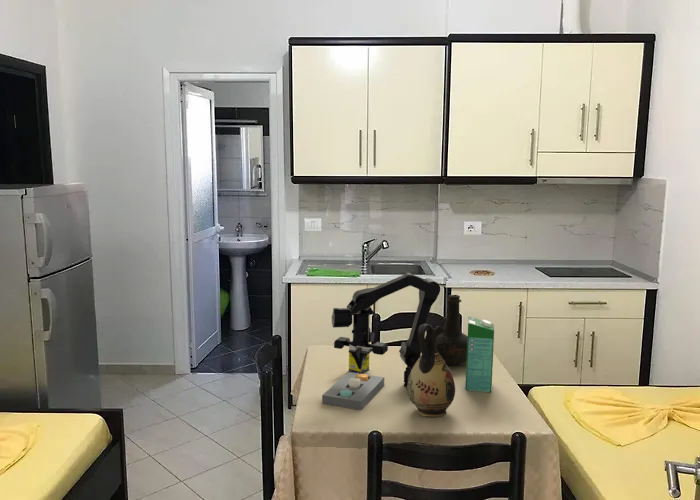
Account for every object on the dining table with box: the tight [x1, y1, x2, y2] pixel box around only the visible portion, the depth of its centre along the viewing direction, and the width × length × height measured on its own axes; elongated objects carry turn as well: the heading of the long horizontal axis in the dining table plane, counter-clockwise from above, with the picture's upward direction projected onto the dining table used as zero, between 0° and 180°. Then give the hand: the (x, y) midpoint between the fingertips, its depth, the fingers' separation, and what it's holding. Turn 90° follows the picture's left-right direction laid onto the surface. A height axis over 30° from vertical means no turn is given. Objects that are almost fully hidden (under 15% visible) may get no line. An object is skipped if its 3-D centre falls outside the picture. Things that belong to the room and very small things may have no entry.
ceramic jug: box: [406, 323, 456, 418], centre depth 194 cm, size 17×15×30 cm
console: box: [321, 371, 385, 411], centre depth 210 cm, size 14×24×3 cm, turn 158°
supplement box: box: [348, 342, 371, 374], centre depth 234 cm, size 6×6×11 cm
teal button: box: [340, 389, 352, 398], centre depth 203 cm, size 4×4×3 cm
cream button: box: [349, 378, 360, 389], centre depth 210 cm, size 4×4×3 cm
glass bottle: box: [435, 294, 468, 367], centre depth 242 cm, size 18×18×28 cm
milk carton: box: [465, 316, 495, 393], centre depth 217 cm, size 9×9×25 cm
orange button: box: [357, 373, 369, 381], centre depth 218 cm, size 4×4×3 cm
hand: (360, 368), depth 215 cm, fingers closed
